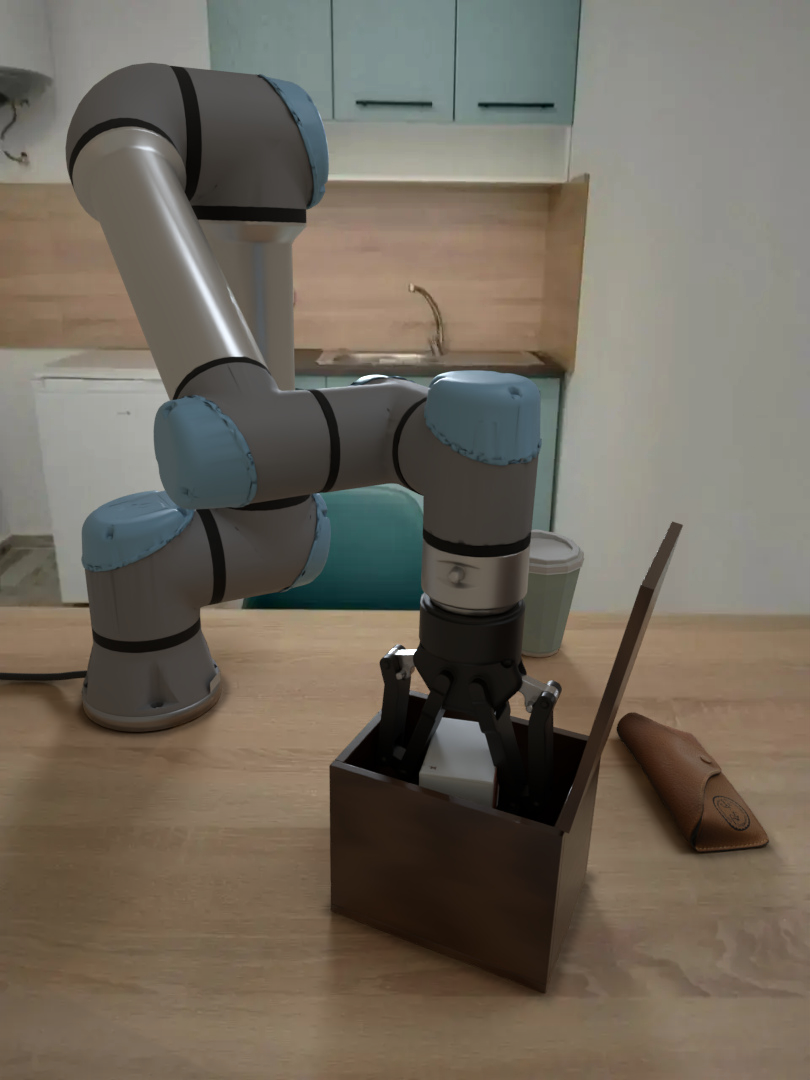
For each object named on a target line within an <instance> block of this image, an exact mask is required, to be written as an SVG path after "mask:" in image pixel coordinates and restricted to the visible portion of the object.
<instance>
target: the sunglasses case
mask: <svg viewBox="0 0 810 1080" xmlns="http://www.w3.org/2000/svg"><path fill="white" fill-rule="evenodd" d="M615 729H616V733H617V736H618V738H619V739H620V741H621V742H622V743H623V745H624V746H625V748H626V749H627V750H628V752H629V753H630V754H631V756H632V757H633V759H634V760H635V761H636V763H637V764H638V766H640V768H641V771H642V772H643V773H644V775H645V776H646V778H647V780H648V781H649V783H650V784H651V786H652V787H653V789H654V790H655V792H656V793H657V795H658V797H659V798H660V800H661V801H662V803H663V805H664V806H665V807H666V809H667V811H668V812H669V814H670V815H671V817H672V819H673V821H674V822H675V824H676V826H677V827H678V828H679V830H680V831H681V833H682V835H683V837H684V838H685V839H686V841H688V843H689V844H690V845H691V846H692V848H693V849H694V850H695V851H696V852H697V853H713V852H714V853H715V852H716V853H719V852H721V853H723V852H732V851H740V850H748V849H753V848H759V847H764V846H766V845H768V844H769V843H770V838H769V837H768V834H767V832H766V830H765V828H763V826H762V824H761V822H760V821H759V820H758V818H757V817H756V816H755V814H754V812H753V811H752V810H751V808H750V807H749V806H748V804H747V803H746V802H745V800H744V799H743V798H742V796H741V795H740V793H739V792H738V791H737V790H736V789H735V787H734V785H733V784H732V783H731V782H730V781H729V779H728V778H727V777H726V776H725V774H724V773H723V772H722V768H721V766H720V764H719V763H718V762H717V761H716V760H715V759H714V758H713V756H712V755H710V754H709V752H707V751H706V749H705V747H703V745H702V744H701V743H700V742H699V740H698V739H697V737H696V736H694V734H692V733H691V732H687V731H683V730H680V729H677V728H675V727H671V726H669V725H664V724H662V723H659V722H658V721H655V720H653V719H651V718H649V717H648V716H645V715H643V714H640V713H638V712H636V711H634V712H633V711H631V712H628V713H626V714H624V715H623V716H622V717H621V718H620V719H619V720H618V723H617V726H616V728H615Z"/></svg>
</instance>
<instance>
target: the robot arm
mask: <svg viewBox="0 0 810 1080" xmlns="http://www.w3.org/2000/svg"><path fill="white" fill-rule="evenodd" d="M64 149H65V163H66V170H67V174H68V179H69V180H70V183H71V186H72V188H73V192H74V194H75V196H76V199H77V200H78V202H79V205H80V206H81V207H82V209H83V210H84V211H85V213H87V214H88V215H89V217H91V218H92V219H93V220H95V221H97V222H98V223H99V224H100V227H101V229H102V232H103V235H104V237H105V240H106V242H107V244H108V247H109V250H110V252H111V255H112V258H113V260H114V262H115V265H116V268H117V270H118V273H119V275H120V278H121V280H122V283H123V285H124V288H125V291H126V293H127V295H128V298H129V301H130V304H131V305H132V308H133V310H134V313H135V315H136V318H137V321H138V323H139V326H140V328H141V331H142V333H143V336H144V338H145V341H146V344H147V347H148V349H149V351H150V353H151V357H152V359H153V362H154V364H155V367H156V369H157V371H158V375H159V377H160V379H161V381H162V384H163V387H164V390H165V392H166V394H167V397H168V400H167V401H164V402H163V403H162V404H161V405H160V406H159V407H158V409H157V410H156V413H155V416H154V422H153V449H154V456H155V460H156V462H157V467H158V475H159V478H160V482H161V484H162V487H163V489H164V490H161V491H158V490H157V489H156V490H155V489H154V490H145V491H140V492H135V493H131V494H127V495H123V496H121V497H118V498H115V499H112V500H109V501H108V502H105V503H103V504H101V505H100V506H98V507H97V508H96V509H95V510H93V511H91V513H90V514H89V515H88V516H87V517H86V518H85V520H84V521H83V524H82V527H81V558H80V559H81V565H82V567H83V568H84V575H85V576H84V577H85V584H86V592H87V599H88V600H87V601H88V608H89V617H90V626H91V633H92V634H91V635H92V646H91V650H90V654H89V658H88V664H87V668H86V670H74V671H66V672H65V671H64V672H50V673H49V672H47V673H45V672H44V673H43V672H41V673H38V672H36V673H34V672H33V673H31V672H30V673H29V672H2V671H1V672H0V681H22V682H23V681H25V682H27V681H28V682H47V681H48V682H49V681H51V682H52V681H53V682H54V681H68V680H75V679H84V680H83V682H82V686H81V697H82V707H83V711H84V713H85V715H86V716H87V718H89V719H90V720H91V721H92V722H94V723H95V724H96V725H99V726H101V727H104V728H107V729H109V730H114V731H121V732H131V733H133V732H136V733H142V732H153V731H160V730H165V729H169V728H173V727H177V726H180V725H183V724H186V723H188V722H190V721H192V720H195V719H197V718H198V717H201V716H202V715H204V714H205V713H207V712H208V711H209V710H210V709H211V708H212V707H213V706H214V705H215V704H216V703H217V702H218V700H219V699H220V696H221V693H222V678H221V677H222V676H221V675H222V674H221V669H220V668H219V666H218V664H217V662H216V660H215V659H214V658H213V657H212V654H211V650H210V647H209V645H208V642H207V640H206V638H205V635H204V632H203V629H202V621H201V608H204V607H207V606H212V605H218V604H222V603H227V602H228V603H229V602H233V601H238V600H242V599H249V598H253V597H259V596H263V595H268V594H273V593H278V594H279V593H280V594H281V593H285V592H287V591H289V590H291V589H293V588H297V587H302V586H306V585H309V584H310V583H312V582H314V581H315V580H316V578H317V577H318V576H319V575H321V573H322V572H323V570H324V568H325V566H326V564H327V561H328V559H329V558H328V557H329V554H330V548H331V541H332V540H331V538H332V537H331V535H332V533H331V532H332V531H331V530H332V529H331V520H330V518H329V517H327V515H328V507H327V504H326V501H325V500H324V498H323V496H322V494H326V493H332V492H341V491H347V490H354V489H360V488H361V489H362V488H367V487H375V486H381V485H390V484H391V485H394V484H395V485H399V486H401V487H403V488H405V489H406V490H409V491H411V492H413V493H415V494H416V495H417V494H418V495H420V496H422V497H423V499H422V500H423V501H422V502H423V504H422V505H423V506H422V509H423V511H422V544H421V545H422V546H421V552H422V553H421V570H420V571H421V572H420V573H421V574H420V587H421V590H422V591H423V593H422V594H421V596H420V599H419V623H418V626H419V627H418V639H419V643H418V646H417V648H416V649H407V648H406V647H405V646H404V645H403V644H399V643H398V644H394V645H393V647H391V648H390V649H389V650H388V651H387V652H386V654H384V655H383V657H381V659H380V660H379V668H380V672H381V676H382V680H383V684H384V686H383V692H382V693H383V694H382V704H381V709H382V711H381V721H380V730H379V739H378V748H377V757H376V760H377V763H378V764H379V765H380V766H381V767H388V766H389V767H391V768H392V769H394V770H395V771H396V772H397V775H398V777H399V780H401V781H405V782H408V783H411V784H415V785H418V786H419V772H420V770H421V768H420V764H421V763H422V761H423V760H424V758H425V757H426V756H425V754H426V752H427V750H428V748H429V745H430V741H431V738H432V736H433V735H434V733H435V732H436V730H437V728H438V726H439V724H440V721H441V719H442V717H443V715H444V713H445V710H448V711H455V712H464V713H465V714H467V715H469V716H471V717H475V718H477V719H478V723H479V726H480V730H481V732H482V733H484V734H485V736H486V740H487V744H488V747H489V751H490V754H491V758H492V762H493V765H494V766H495V767H496V768H497V780H498V783H499V787H500V791H501V794H502V798H501V800H500V802H499V803H498V805H497V807H496V809H497V810H500V811H503V812H507V813H510V814H513V815H516V816H520V817H523V818H526V810H532V811H533V812H535V813H542V812H543V811H544V810H545V807H546V805H547V803H548V801H549V799H550V797H551V794H552V792H553V727H554V709H555V707H556V706H557V703H558V700H559V698H560V696H561V693H562V690H563V689H562V685H561V683H560V682H558V681H557V680H556V681H555V680H549V681H547V682H546V683H544V682H543V681H540V680H539V679H536V678H534V677H532V676H530V675H528V673H527V669H526V666H525V665H524V661H523V658H522V655H523V654H522V643H523V631H524V620H525V602H524V600H523V598H524V597H525V595H526V593H527V585H528V571H529V557H530V542H531V530H533V529H532V528H533V519H534V510H535V509H534V507H535V500H536V499H535V498H536V488H537V487H536V486H537V476H538V464H539V454H540V452H541V448H542V445H543V443H542V441H543V440H542V438H541V406H542V405H541V404H542V402H541V400H542V399H541V392H540V389H539V388H538V386H537V384H536V383H535V382H534V381H533V380H531V379H530V378H528V377H526V376H523V375H519V374H516V373H509V372H505V373H504V372H498V371H494V370H476V369H475V370H470V369H469V370H467V369H466V370H454V371H453V370H452V371H446V372H443V373H440V374H437V375H436V376H435V377H433V378H432V379H431V381H430V382H429V384H428V386H426V385H422V384H419V383H417V382H415V381H414V380H411V379H409V380H408V379H407V378H406V377H403V376H399V375H391V376H388V375H383V374H369V375H364V376H362V377H360V378H358V379H357V380H355V381H353V382H352V383H350V384H349V385H347V386H335V387H324V388H307V389H305V388H304V389H296V373H295V372H296V371H295V370H296V367H295V363H296V362H295V322H294V321H295V320H294V319H295V316H294V315H295V314H294V312H295V311H294V278H293V277H294V272H293V271H294V268H293V266H294V265H293V244H294V242H295V239H297V238H298V236H299V235H300V234H301V233H302V232H303V231H305V229H306V228H307V226H308V225H307V210H311V209H312V208H314V207H316V206H318V204H320V202H321V201H322V200H323V198H324V195H325V194H326V186H325V184H327V183H328V180H329V174H330V173H329V170H330V161H329V159H330V158H329V147H328V139H327V134H326V130H325V126H324V123H323V120H322V116H321V114H320V112H319V109H318V107H317V106H316V105H315V103H314V101H313V99H312V97H311V96H310V94H309V93H308V92H307V91H306V90H305V89H304V88H303V87H302V86H301V85H298V84H297V83H294V82H292V81H290V80H284V79H280V78H275V77H269V76H266V75H264V74H263V73H259V74H253V73H246V72H245V73H243V72H236V71H235V72H234V71H226V70H225V71H224V70H215V69H204V68H197V67H187V66H178V65H177V66H176V65H170V64H166V63H158V62H144V63H135V64H131V65H127V66H125V67H124V66H123V67H121V68H119V69H116V70H115V71H112V72H111V73H108V74H107V75H106V76H104V77H103V78H102V79H101V80H99V81H98V82H96V83H95V84H94V85H93V86H92V87H91V88H90V89H89V90H88V92H86V93H85V95H84V96H83V97H82V98H81V100H80V101H79V103H78V105H77V107H76V109H75V110H74V113H73V115H72V117H71V120H70V123H69V126H68V129H67V133H66V141H65V148H64ZM415 671H417V672H418V674H419V676H420V677H421V679H422V681H423V682H424V684H425V686H426V687H427V689H428V690H429V692H428V697H427V700H426V702H425V704H424V707H423V709H422V714H421V716H420V719H419V721H418V723H417V725H416V728H415V730H414V732H413V735H412V737H411V739H410V741H409V744H408V746H407V748H406V749H404V748H403V741H404V733H405V725H406V716H407V708H408V700H409V692H410V690H411V684H412V675H413V674H414V673H415ZM518 692H519V693H520V694H521V695H523V698H524V702H523V703H524V704H523V705H524V707H525V711H526V712H527V713H529V714H530V715H529V718H528V720H529V723H528V782H527V778H526V775H525V771H524V767H523V763H522V760H521V756H520V752H519V748H518V745H517V741H516V737H515V734H514V730H513V726H512V722H511V719H510V716H511V714H512V710H511V704H510V700H511V698H513V697H514V696H515V695H516V694H517V693H518Z"/></svg>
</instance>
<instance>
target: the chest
mask: <svg viewBox="0 0 810 1080" xmlns="http://www.w3.org/2000/svg"><path fill="white" fill-rule="evenodd" d="M428 695H429V693H424V692H421V691H416V690H412V689H410V692H409V700H408V708H407V716H406V725H405V733H404V741H403V748H404V749H406V748H407V746H408V744H409V741H410V739H411V737H412V735H413V732H414V730H415V728H416V725H417V723H418V721H419V719H420V716H421V714H422V709H423V707H424V704H425V702H426V700H427V697H428ZM381 711H382V708H381V709H380V710H379V711H378V712H376V714H375V715H374V716H373V717H372V719H370V720H369V722H368V723H367V724H366V725H365V726H364V727H363V728H362V729H361V730H360V732H358V734H357V735H356V736H355V737H354V738H353V739H352V740H351V741H350V742H349V744H347V746H346V747H345V748H344V749H343V750H342V751H341V752H340V753H339V754H338V755H337V757H335V758H334V760H333V761H332V762H330V764H329V767H328V768H329V774H328V775H329V857H330V858H329V865H330V866H329V869H330V870H329V871H330V872H329V875H330V876H329V877H330V878H329V879H330V880H329V881H330V912H332V913H335V914H338V915H339V916H343V917H345V918H348V919H350V920H352V921H355V922H358V923H361V924H364V925H366V926H368V927H371V928H373V929H377V930H379V931H382V932H384V933H387V934H390V935H392V936H395V937H397V938H400V939H403V940H405V941H407V942H410V943H413V944H415V945H418V946H420V947H424V948H426V949H428V950H431V951H434V952H436V953H439V954H441V955H444V956H447V957H449V958H451V959H455V960H457V961H459V962H462V963H465V964H468V965H470V966H473V967H475V968H477V969H480V970H482V971H486V972H488V973H490V974H493V975H496V976H499V977H501V978H504V979H507V980H509V981H512V982H514V983H517V984H519V985H522V986H525V987H527V988H529V989H532V990H535V991H538V992H540V993H543V994H546V993H547V990H548V988H549V984H550V982H551V978H552V975H553V974H554V971H555V968H556V965H557V962H558V959H559V955H560V953H561V950H562V947H563V945H564V941H565V939H566V936H567V933H568V930H569V927H570V924H571V923H572V922H571V921H572V919H573V916H574V914H575V910H576V907H577V904H578V902H579V898H580V896H581V893H582V890H583V888H584V884H585V882H586V879H587V872H588V864H589V863H588V862H589V855H590V848H591V839H592V831H593V823H594V816H595V807H596V799H597V791H598V784H599V775H600V768H601V767H600V766H601V760H602V756H601V757H600V759H599V762H598V764H597V766H596V769H595V771H594V774H593V776H592V779H591V781H590V784H589V786H588V789H587V791H586V794H585V796H584V799H583V801H582V804H581V806H580V808H579V811H578V813H577V816H576V818H575V821H574V823H573V826H572V828H571V831H570V833H569V834H568V833H566V832H564V831H562V830H559V829H558V826H559V823H560V820H561V817H562V814H563V811H564V808H565V806H566V803H567V800H568V797H569V794H570V791H571V788H572V785H573V782H574V779H575V776H576V773H577V770H578V767H579V764H580V761H581V759H582V756H583V753H584V750H585V747H586V744H587V741H588V738H589V735H588V734H583V733H580V732H576V731H572V730H568V729H565V728H560V727H556V726H553V792H552V794H551V797H550V799H549V801H548V803H547V805H546V807H545V810H544V811H543V812H542V813H535V812H533V811H532V810H526V818H523V817H520V816H516V815H513V814H510V813H507V812H503V811H500V810H497V809H493V808H490V807H487V806H484V805H480V804H477V803H474V802H470V801H467V800H464V799H461V798H457V797H454V796H451V795H447V794H444V793H441V792H438V791H434V790H431V789H428V788H424V787H421V786H418V785H415V784H411V783H408V782H405V781H401V780H399V777H398V775H397V772H396V771H395V770H394V769H392V768H391V767H389V766H388V767H381V766H380V765H379V764H378V763H377V760H376V757H377V748H378V739H379V730H380V721H381ZM443 718H451V719H458V720H466V721H473V722H478V719H477V718H475V717H471V716H469V715H467V714H465V713H464V712H455V711H448V710H445V713H444V715H443ZM510 719H511V722H512V726H513V730H514V734H515V737H516V741H517V745H518V748H519V752H520V756H521V760H522V763H523V767H524V771H525V775H526V778H527V782H528V723H529V719H526V718H521V717H518V716H514V715H510ZM427 751H428V750H427ZM426 754H427V752H426ZM426 754H425V756H426ZM424 760H425V758H424ZM424 760H423V761H422V763H421V764H420V768H421V767H422V765H423V763H424ZM501 798H502V794H501V791H500V787H499V795H498V803H499V802H500V800H501Z"/></svg>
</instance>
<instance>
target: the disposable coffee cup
mask: <svg viewBox="0 0 810 1080" xmlns="http://www.w3.org/2000/svg"><path fill="white" fill-rule="evenodd" d="M584 562H585V552H584V550H583V549H581V547H580V545H578V544H577V543H576V541H574V540H573V539H571V538H569V537H566V536H564V535H562V534H560V533H558V532H553V531H547V530H544V529H532V530H531V542H530V557H529V571H528V585H527V593H526V595H525V597H524V598H523V600H524V602H525V620H524V631H523V643H522V654H521V655H523V656H526V657H533V658H546V657H551V656H553V655H556V654H557V653H558V652H559V649H561V646H562V642H563V639H564V635H565V631H566V627H567V623H568V619H569V615H570V611H571V607H572V603H573V599H574V596H575V591H576V588H577V584H578V580H579V575H580V572H581V569H582V568H583V565H584Z"/></svg>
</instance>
